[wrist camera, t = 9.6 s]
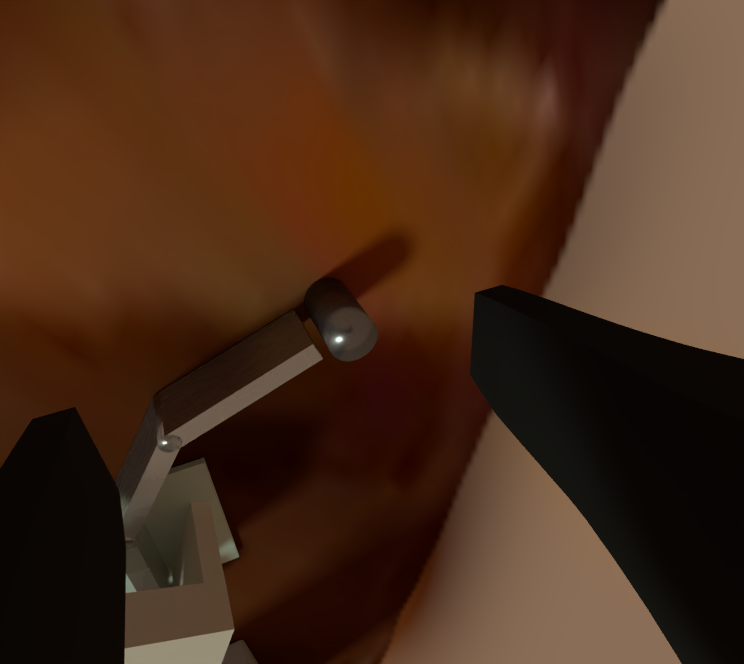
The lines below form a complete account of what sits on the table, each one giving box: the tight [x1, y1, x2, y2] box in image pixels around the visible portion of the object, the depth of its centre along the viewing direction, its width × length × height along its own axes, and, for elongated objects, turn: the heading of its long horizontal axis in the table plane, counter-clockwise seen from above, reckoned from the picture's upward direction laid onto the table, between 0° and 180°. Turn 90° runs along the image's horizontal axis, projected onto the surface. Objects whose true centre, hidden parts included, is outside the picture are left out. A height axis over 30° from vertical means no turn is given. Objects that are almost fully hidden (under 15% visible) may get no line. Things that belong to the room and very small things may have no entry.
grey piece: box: [115, 278, 378, 592], centre depth 21 cm, size 6×19×3 cm, turn 149°
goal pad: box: [126, 458, 239, 593], centre depth 24 cm, size 7×7×1 cm
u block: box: [124, 501, 234, 664], centre depth 21 cm, size 4×5×6 cm
